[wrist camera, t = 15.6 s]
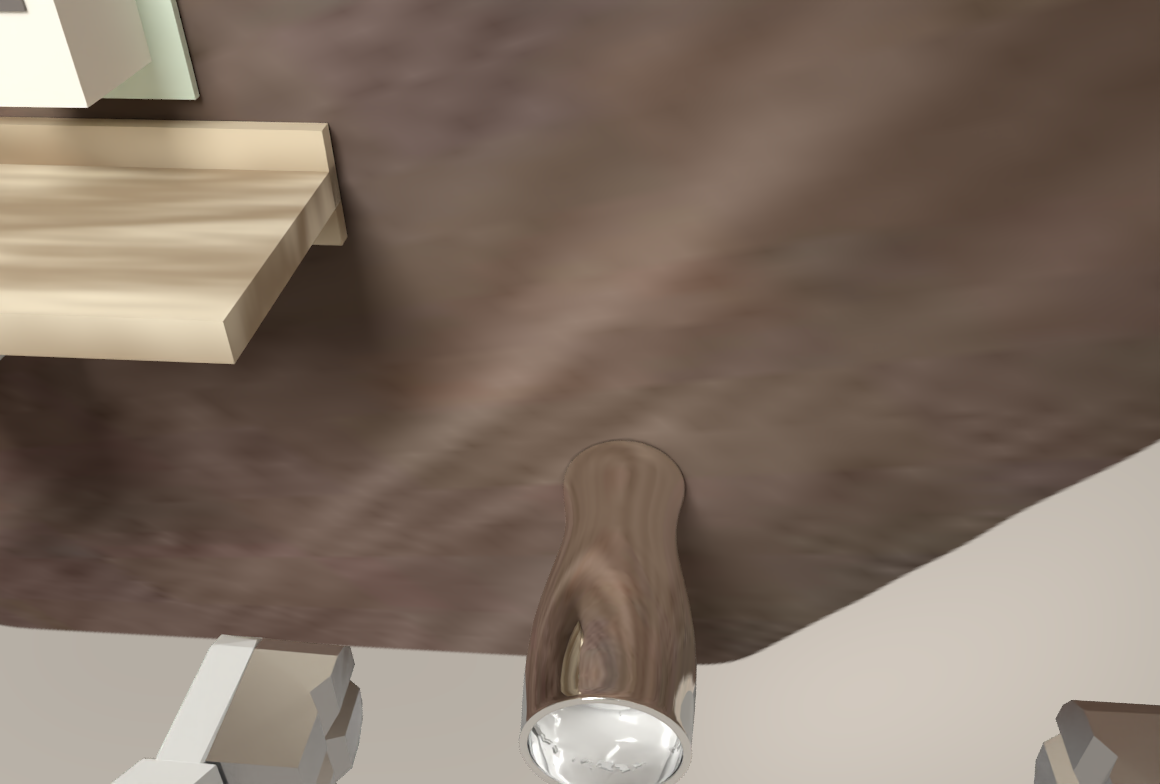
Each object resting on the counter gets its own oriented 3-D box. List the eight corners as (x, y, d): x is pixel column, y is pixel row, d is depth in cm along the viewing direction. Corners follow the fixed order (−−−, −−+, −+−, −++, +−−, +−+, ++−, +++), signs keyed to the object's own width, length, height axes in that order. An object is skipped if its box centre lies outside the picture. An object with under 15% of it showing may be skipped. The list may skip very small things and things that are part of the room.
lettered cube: (-25, -83, 35) (-121, -50, 30) (112, -82, 34) (34, -49, 30) (24, 59, 38) (-57, 106, 33) (152, 61, 37) (86, 109, 33)
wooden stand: (-8, 116, 40) (-230, 258, 30) (327, 123, 38) (209, 272, 29) (34, 227, 42) (-155, 389, 33) (347, 236, 41) (246, 406, 32)
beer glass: (531, 502, 50) (483, 765, 38) (595, 409, 46) (564, 671, 34) (649, 553, 51) (639, 823, 39) (721, 468, 47) (733, 738, 35)
